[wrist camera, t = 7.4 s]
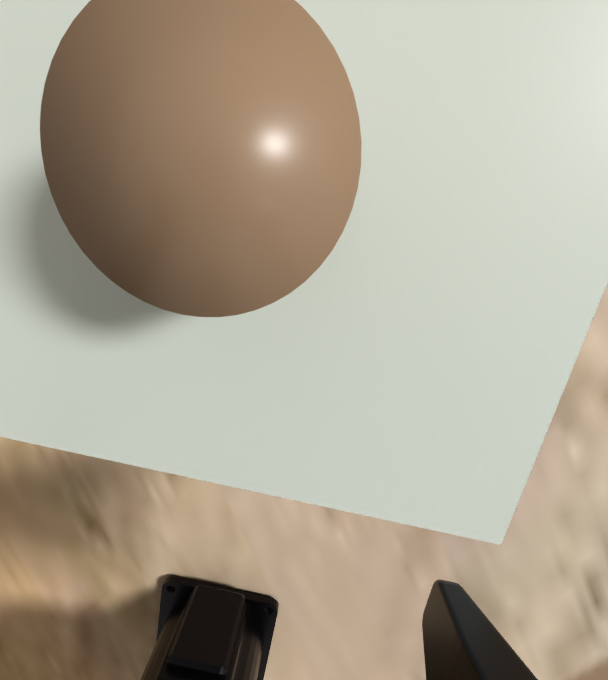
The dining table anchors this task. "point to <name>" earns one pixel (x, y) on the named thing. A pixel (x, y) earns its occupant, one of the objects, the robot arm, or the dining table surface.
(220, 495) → the dining table surface
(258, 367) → the panel
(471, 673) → the robot arm
